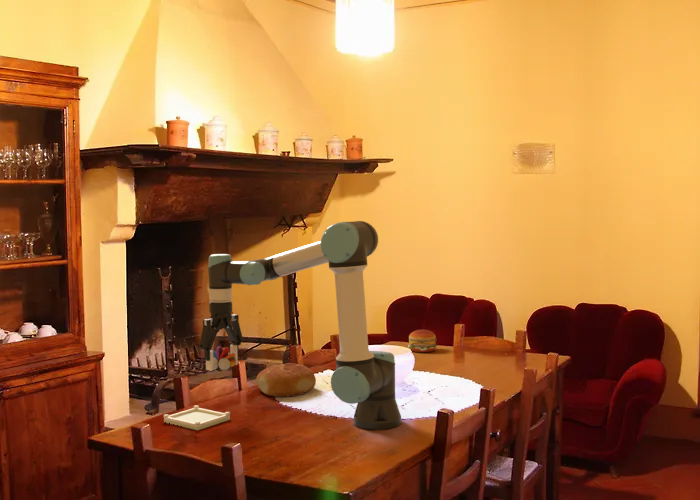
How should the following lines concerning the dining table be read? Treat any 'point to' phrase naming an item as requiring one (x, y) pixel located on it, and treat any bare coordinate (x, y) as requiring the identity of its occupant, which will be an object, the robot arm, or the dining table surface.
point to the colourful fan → (223, 358)
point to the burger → (422, 341)
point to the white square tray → (197, 418)
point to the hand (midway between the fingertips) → (222, 367)
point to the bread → (286, 380)
